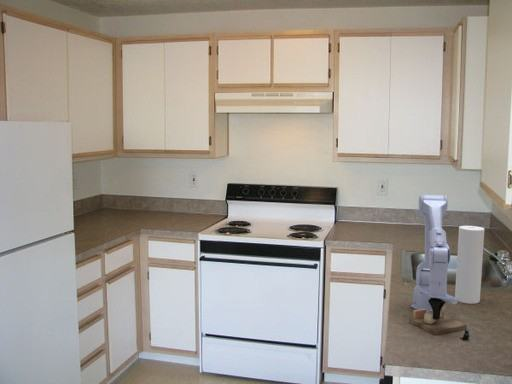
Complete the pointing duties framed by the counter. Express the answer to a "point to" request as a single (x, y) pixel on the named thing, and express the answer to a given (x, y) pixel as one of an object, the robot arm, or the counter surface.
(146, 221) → the counter surface
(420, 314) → the block
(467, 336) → the sculpture
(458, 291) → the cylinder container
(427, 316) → the hinged leg
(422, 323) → the board
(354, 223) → the counter surface
